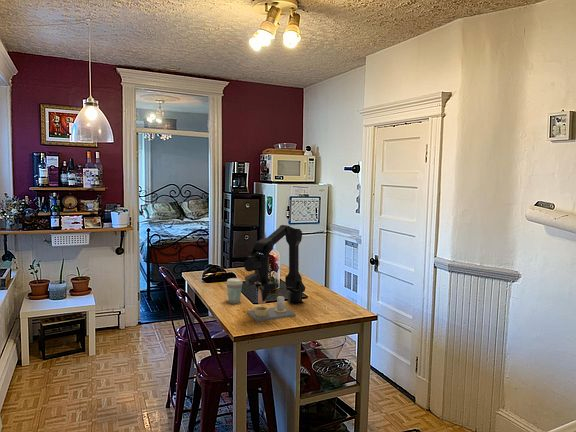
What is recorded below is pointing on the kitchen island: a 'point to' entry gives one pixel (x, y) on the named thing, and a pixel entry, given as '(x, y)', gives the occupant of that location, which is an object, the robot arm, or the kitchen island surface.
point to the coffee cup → (234, 290)
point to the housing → (271, 311)
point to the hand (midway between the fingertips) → (262, 299)
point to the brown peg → (260, 297)
